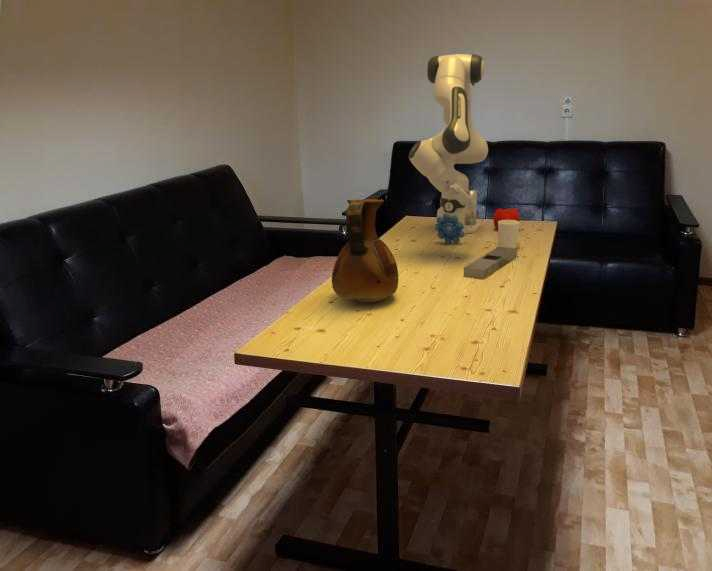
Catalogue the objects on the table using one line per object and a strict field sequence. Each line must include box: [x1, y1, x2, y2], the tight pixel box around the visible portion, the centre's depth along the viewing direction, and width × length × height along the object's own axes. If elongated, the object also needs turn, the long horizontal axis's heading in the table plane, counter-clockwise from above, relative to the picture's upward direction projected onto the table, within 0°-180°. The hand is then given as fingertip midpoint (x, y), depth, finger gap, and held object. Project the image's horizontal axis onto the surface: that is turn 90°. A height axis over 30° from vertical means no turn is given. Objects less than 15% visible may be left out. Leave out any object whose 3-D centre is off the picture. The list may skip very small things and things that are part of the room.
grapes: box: [433, 213, 465, 245], centre depth 265 cm, size 12×7×12 cm, turn 79°
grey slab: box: [463, 246, 518, 280], centre depth 236 cm, size 32×7×3 cm, turn 148°
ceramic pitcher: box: [331, 198, 399, 303], centre depth 201 cm, size 20×20×30 cm
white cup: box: [497, 220, 520, 249], centre depth 259 cm, size 8×8×10 cm
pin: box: [465, 189, 478, 226], centre depth 244 cm, size 4×4×12 cm
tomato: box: [492, 208, 521, 230], centre depth 288 cm, size 11×12×9 cm
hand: (472, 206), depth 244 cm, fingers closed on pin, 4 cm apart
